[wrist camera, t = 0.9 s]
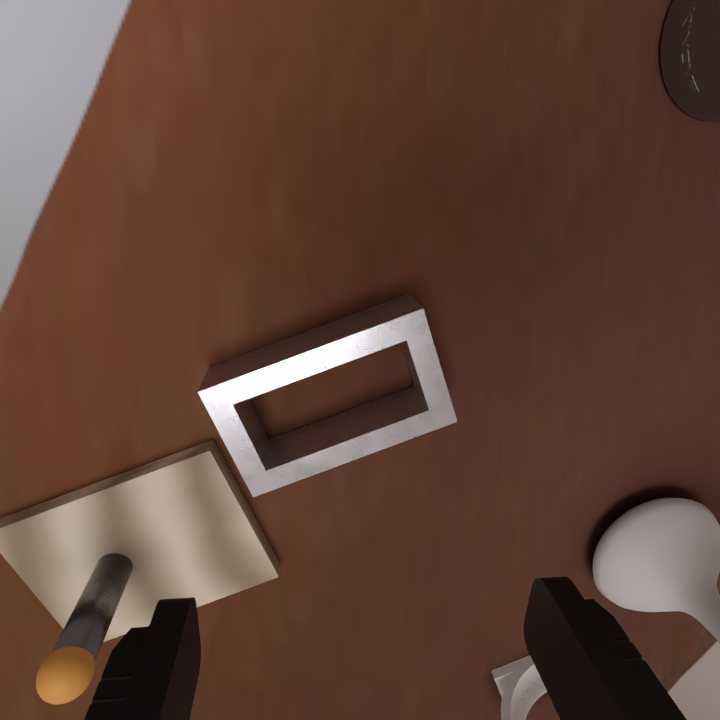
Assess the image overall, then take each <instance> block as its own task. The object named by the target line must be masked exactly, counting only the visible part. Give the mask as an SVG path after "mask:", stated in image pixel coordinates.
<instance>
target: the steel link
mask: <svg viewBox="0 0 720 720" xmlns="http://www.w3.org/2000/svg"><path fill="white" fill-rule="evenodd" d="M398 343H400V344H401V347H402V350H403V353H404V356H405V359H406V362H407V365H408V368H409V371H410V374H411V377H412V380H413V383H414V386H411V387H408V388H406V389H403V390H400V391H398V392H395V393H392V394H389V395H387V396H384V397H381V398H379V399H376V400H373V401H371V402H368V403H365V404H362V405H360V406H357V407H354V408H352V409H349V410H346V411H344V412H341V413H338V414H336V415H333V416H330V417H327V418H325V419H322V420H319V421H317V422H314V423H311V424H309V425H306V426H303V427H300V428H298V429H295V430H292V431H290V432H287V433H284V434H282V435H279V436H276V437H273V438H271V439H268V437H267V435H266V432H265V430H264V428H263V426H262V424H261V422H260V420H259V418H258V416H257V414H256V412H255V410H254V408H253V406H252V404H251V402H250V398H252V397H255V396H258V395H260V394H263V393H266V392H268V391H271V390H274V389H277V388H279V387H282V386H285V385H287V384H290V383H293V382H295V381H298V380H301V379H304V378H306V377H309V376H312V375H314V374H317V373H320V372H322V371H325V370H328V369H331V368H333V367H336V366H339V365H341V364H344V363H347V362H349V361H352V360H355V359H358V358H360V357H363V356H366V355H368V354H371V353H374V352H376V351H379V350H382V349H385V348H387V347H390V346H393V345H395V344H398ZM198 394H199V396H200V398H201V400H202V401H203V403H204V405H205V407H206V409H207V411H208V413H209V415H210V417H211V418H212V420H213V422H214V424H215V426H216V428H217V430H218V432H219V434H220V435H221V437H222V439H223V441H224V443H225V445H226V447H227V449H228V451H229V452H230V454H231V456H232V458H233V460H234V462H235V464H236V466H237V468H238V469H239V471H240V473H241V475H242V477H243V479H244V481H245V483H246V485H247V487H248V488H249V490H250V492H251V494H252V496H253V497H256V496H258V495H261V494H264V493H266V492H269V491H272V490H275V489H277V488H280V487H283V486H285V485H288V484H291V483H293V482H296V481H299V480H301V479H304V478H307V477H310V476H312V475H315V474H318V473H320V472H323V471H326V470H328V469H331V468H334V467H336V466H339V465H342V464H345V463H347V462H350V461H353V460H355V459H358V458H361V457H363V456H366V455H369V454H371V453H374V452H377V451H380V450H382V449H385V448H388V447H390V446H393V445H396V444H398V443H401V442H404V441H406V440H409V439H412V438H415V437H417V436H420V435H423V434H425V433H428V432H431V431H433V430H436V429H439V428H442V427H444V426H447V425H450V424H452V423H455V422H457V419H456V416H455V413H454V409H453V406H452V403H451V399H450V396H449V392H448V389H447V386H446V382H445V379H444V376H443V372H442V369H441V366H440V362H439V359H438V356H437V352H436V349H435V346H434V342H433V339H432V336H431V332H430V329H429V326H428V322H427V319H426V316H425V312H424V309H423V308H422V307H421V306H420V305H419V304H418V303H417V302H416V301H415V300H414V299H413V298H412V297H411V296H410V295H409V294H405V295H403V296H400V297H397V298H394V299H392V300H389V301H386V302H384V303H381V304H378V305H376V306H373V307H370V308H367V309H365V310H362V311H359V312H357V313H354V314H351V315H349V316H346V317H343V318H340V319H338V320H335V321H332V322H330V323H327V324H324V325H322V326H319V327H316V328H313V329H311V330H308V331H305V332H303V333H300V334H297V335H295V336H292V337H289V338H286V339H284V340H281V341H278V342H276V343H273V344H270V345H268V346H265V347H262V348H259V349H257V350H254V351H251V352H249V353H246V354H243V355H241V356H238V357H235V358H232V359H230V360H227V361H224V362H222V363H219V364H216V365H214V366H211V367H209V368H208V370H207V372H206V374H205V377H204V379H203V381H202V383H201V386H200V388H199V390H198Z"/></svg>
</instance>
